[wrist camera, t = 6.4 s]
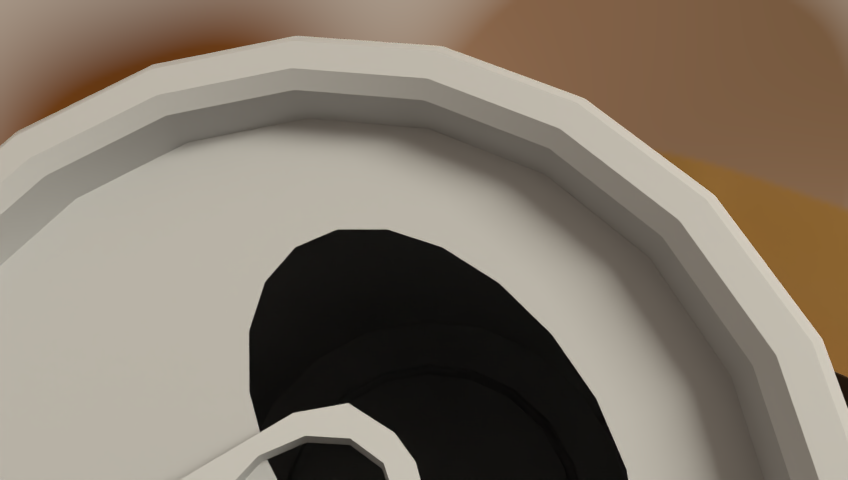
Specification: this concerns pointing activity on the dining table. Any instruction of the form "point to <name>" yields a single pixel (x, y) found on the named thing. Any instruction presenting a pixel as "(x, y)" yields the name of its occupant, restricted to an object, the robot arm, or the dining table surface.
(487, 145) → the can
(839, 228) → the dining table surface
